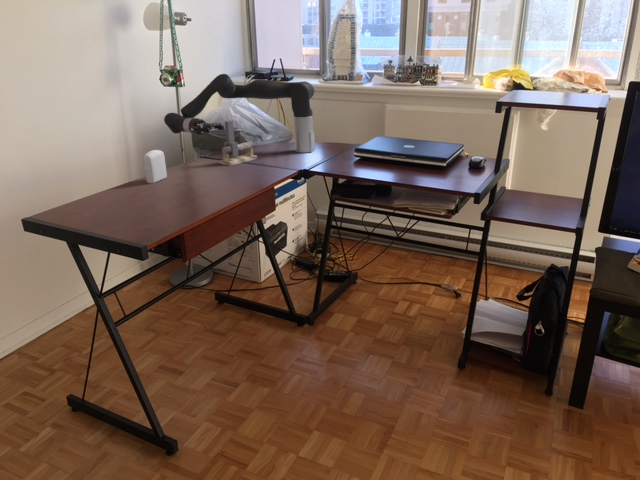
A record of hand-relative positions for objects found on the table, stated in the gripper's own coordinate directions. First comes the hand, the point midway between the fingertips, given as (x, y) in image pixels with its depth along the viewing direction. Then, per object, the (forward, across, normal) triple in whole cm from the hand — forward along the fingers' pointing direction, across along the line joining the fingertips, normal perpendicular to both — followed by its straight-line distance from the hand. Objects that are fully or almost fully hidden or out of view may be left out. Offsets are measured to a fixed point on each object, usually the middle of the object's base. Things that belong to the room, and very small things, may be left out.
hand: (216, 129), depth 251 cm
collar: (+9, 0, +11) cm, 15 cm away
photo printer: (+8, -39, +15) cm, 43 cm away
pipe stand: (+10, +4, +15) cm, 18 cm away
